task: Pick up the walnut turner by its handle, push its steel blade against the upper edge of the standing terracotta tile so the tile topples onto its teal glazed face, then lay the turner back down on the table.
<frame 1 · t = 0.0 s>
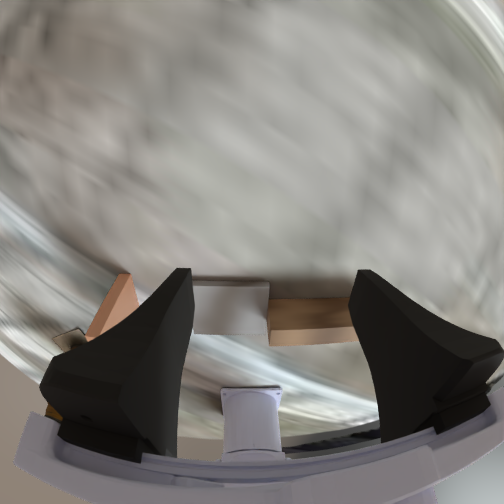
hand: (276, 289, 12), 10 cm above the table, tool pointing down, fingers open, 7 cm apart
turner: (277, 307, 25), on the table
tile: (133, 303, 25), on the table
condiment: (86, 353, 30), on the table
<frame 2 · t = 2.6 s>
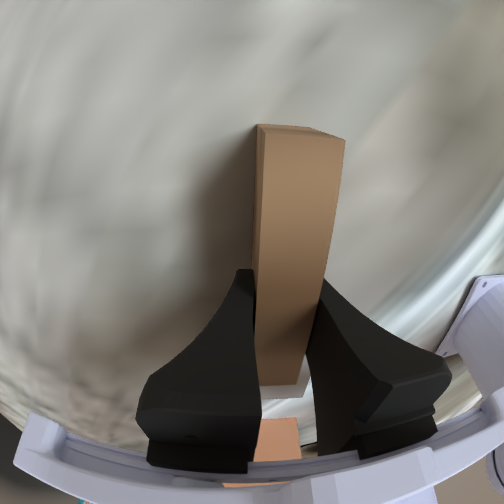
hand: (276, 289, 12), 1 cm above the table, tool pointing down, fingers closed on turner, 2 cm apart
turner: (269, 310, 14), on the table, touching gripper
tile: (256, 421, 21), on the table
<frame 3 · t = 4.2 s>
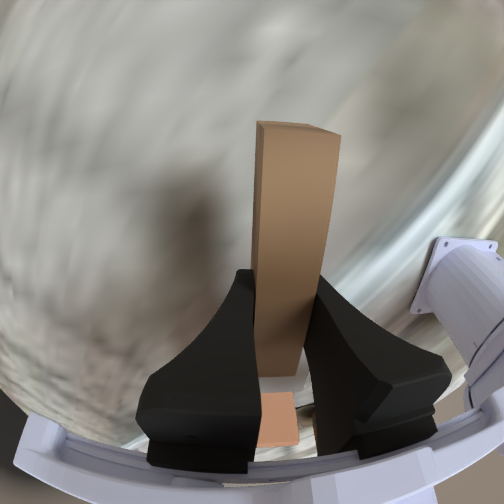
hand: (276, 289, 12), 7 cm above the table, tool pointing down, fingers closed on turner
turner: (268, 303, 14), point 5 cm above the table, touching gripper
tile: (254, 374, 26), on the table
condiment: (325, 408, 31), on the table
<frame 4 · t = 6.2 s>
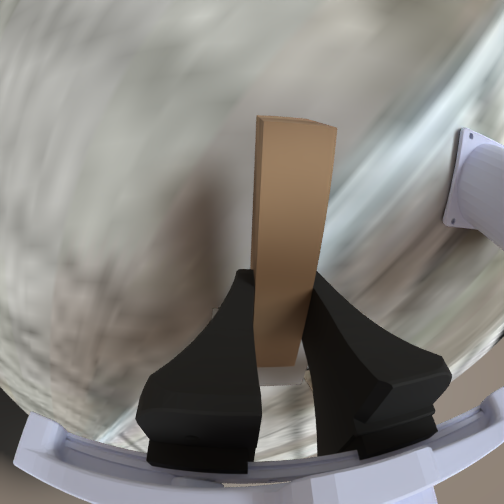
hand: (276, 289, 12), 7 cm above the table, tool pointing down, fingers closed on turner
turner: (268, 295, 15), point 5 cm above the table, touching gripper
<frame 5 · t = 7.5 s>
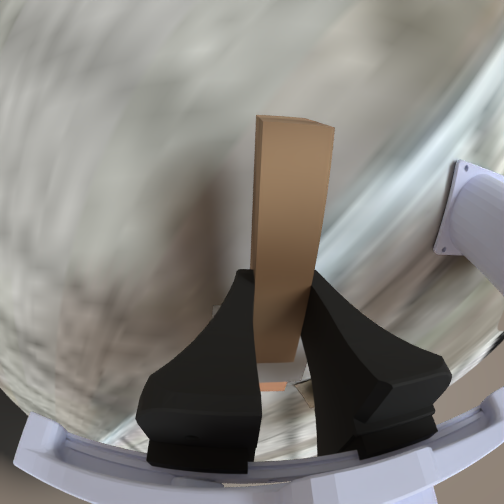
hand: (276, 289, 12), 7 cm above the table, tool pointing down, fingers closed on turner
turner: (267, 292, 15), point 4 cm above the table, touching gripper
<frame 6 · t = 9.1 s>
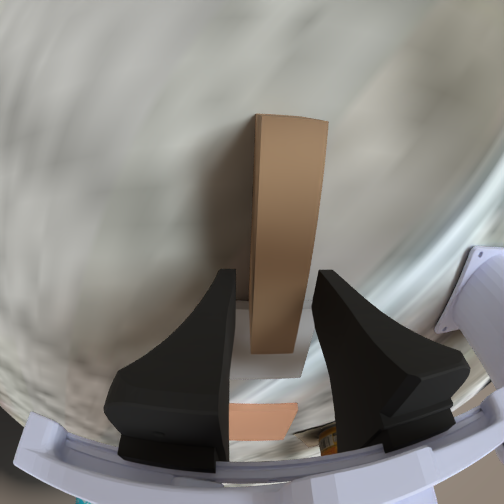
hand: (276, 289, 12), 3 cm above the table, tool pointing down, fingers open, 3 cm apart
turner: (267, 286, 15), on the table
tile: (259, 405, 22), on the table, tilted 90°
condiment: (333, 429, 27), on the table
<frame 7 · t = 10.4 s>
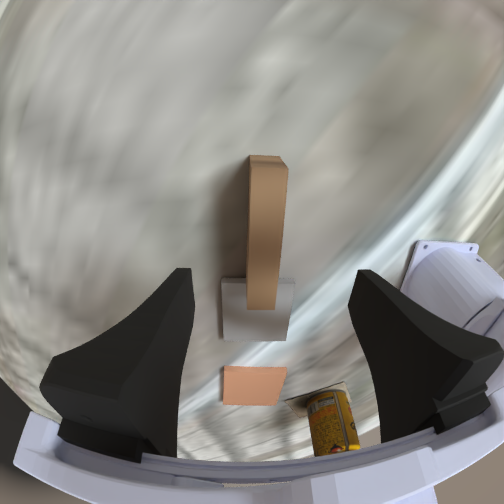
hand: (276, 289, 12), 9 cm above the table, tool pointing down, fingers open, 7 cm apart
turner: (258, 267, 22), on the table
tile: (255, 368, 29), on the table, tilted 90°
condiment: (319, 399, 34), on the table
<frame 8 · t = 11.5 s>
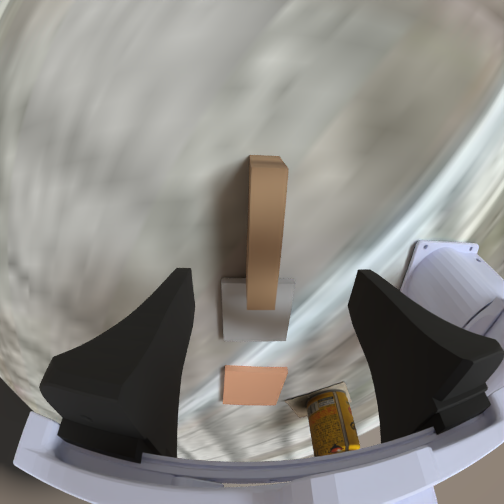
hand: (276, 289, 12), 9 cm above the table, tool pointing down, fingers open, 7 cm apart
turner: (258, 267, 22), on the table
tile: (256, 368, 29), on the table, tilted 90°
condiment: (319, 399, 34), on the table
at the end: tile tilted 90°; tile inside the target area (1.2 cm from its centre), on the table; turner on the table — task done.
